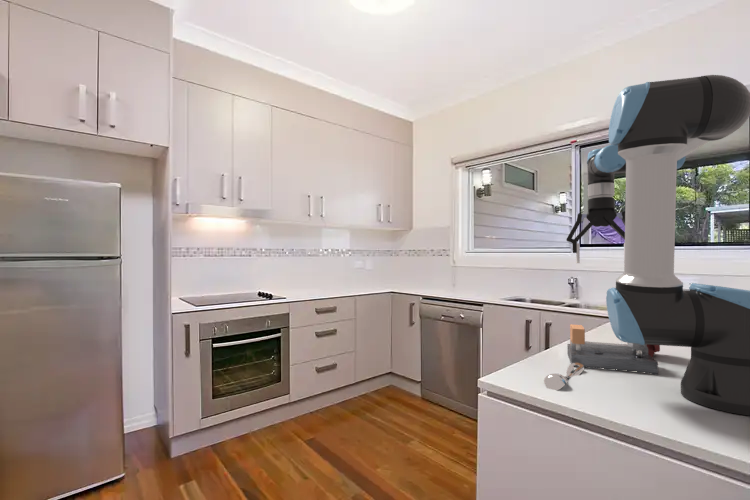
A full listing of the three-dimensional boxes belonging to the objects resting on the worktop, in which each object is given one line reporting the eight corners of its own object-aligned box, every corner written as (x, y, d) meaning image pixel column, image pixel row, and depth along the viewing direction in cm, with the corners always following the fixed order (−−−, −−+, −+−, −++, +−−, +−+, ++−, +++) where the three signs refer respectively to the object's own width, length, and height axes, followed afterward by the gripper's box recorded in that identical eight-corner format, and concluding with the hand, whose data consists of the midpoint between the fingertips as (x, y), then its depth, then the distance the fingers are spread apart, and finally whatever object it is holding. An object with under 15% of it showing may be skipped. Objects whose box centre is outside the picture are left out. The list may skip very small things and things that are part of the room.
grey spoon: (568, 353, 101) (588, 356, 98) (568, 366, 101) (588, 370, 98) (540, 376, 87) (562, 381, 83) (540, 391, 87) (563, 397, 83)
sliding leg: (584, 351, 104) (584, 329, 104) (572, 350, 105) (572, 328, 105) (581, 346, 110) (581, 325, 110) (570, 345, 111) (570, 324, 111)
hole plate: (657, 374, 95) (657, 361, 95) (571, 365, 102) (571, 354, 102) (643, 360, 107) (643, 349, 107) (567, 353, 114) (567, 343, 114)
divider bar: (651, 358, 98) (651, 334, 98) (572, 351, 105) (572, 329, 105) (644, 352, 104) (644, 330, 104) (570, 346, 111) (570, 325, 111)
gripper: (644, 197, 124) (644, 263, 123) (558, 201, 134) (558, 262, 133) (650, 193, 117) (650, 263, 116) (558, 198, 127) (559, 263, 126)
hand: (601, 263), depth 125 cm, fingers open, 13 cm apart
